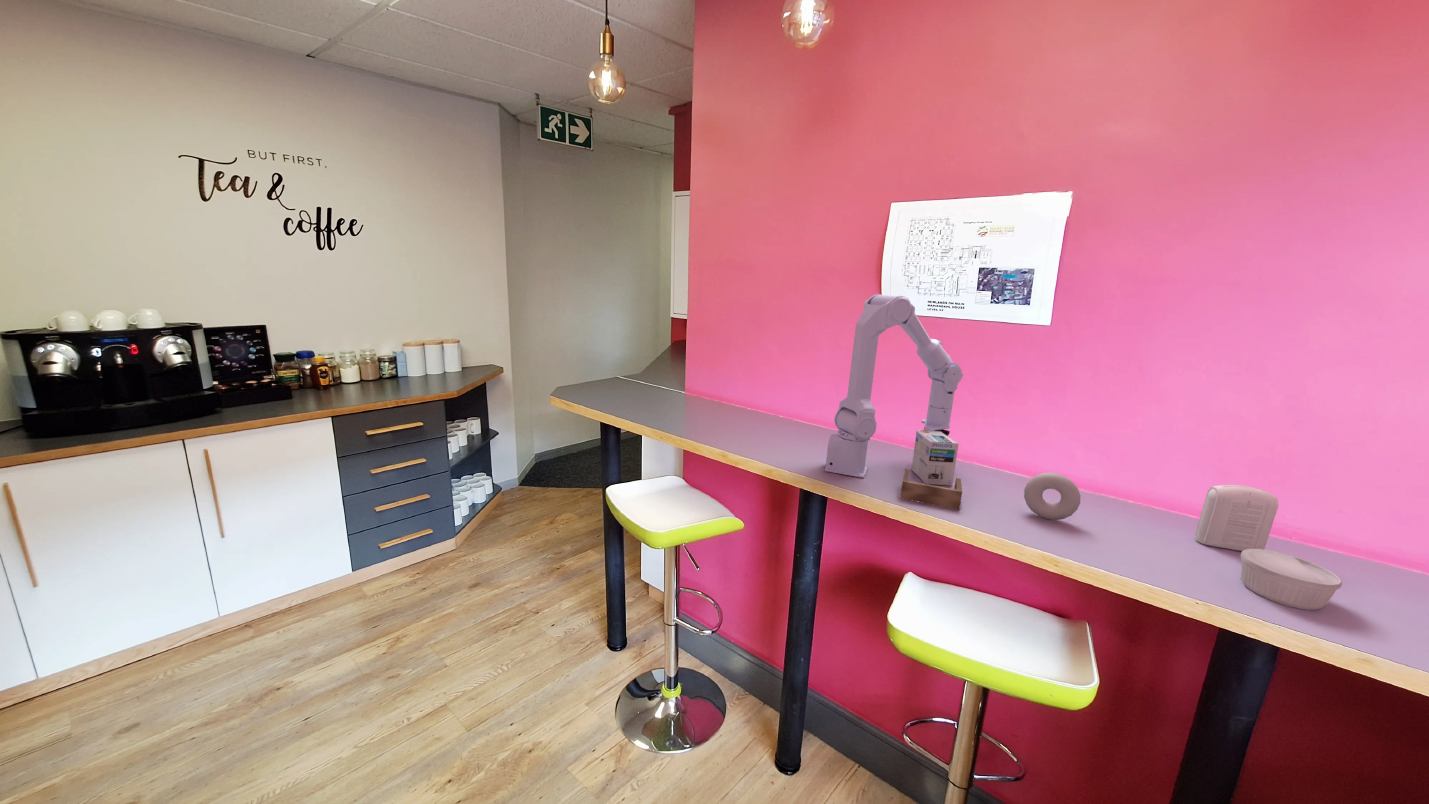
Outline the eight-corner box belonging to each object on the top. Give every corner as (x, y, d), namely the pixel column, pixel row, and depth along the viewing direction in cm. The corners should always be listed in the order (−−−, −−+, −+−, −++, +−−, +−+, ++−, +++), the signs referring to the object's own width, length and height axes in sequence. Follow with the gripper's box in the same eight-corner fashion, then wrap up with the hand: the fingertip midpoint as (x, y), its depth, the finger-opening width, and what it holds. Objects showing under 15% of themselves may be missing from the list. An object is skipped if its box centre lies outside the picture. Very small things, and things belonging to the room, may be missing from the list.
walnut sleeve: (900, 498, 119) (902, 481, 118) (902, 485, 127) (905, 469, 126) (959, 509, 115) (962, 492, 114) (958, 495, 123) (960, 478, 122)
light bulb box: (953, 486, 128) (960, 443, 126) (924, 484, 128) (931, 441, 126) (936, 470, 139) (942, 430, 136) (909, 469, 139) (915, 429, 136)
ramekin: (1353, 615, 83) (1364, 584, 82) (1288, 615, 82) (1298, 584, 81) (1274, 576, 94) (1283, 548, 93) (1215, 575, 93) (1223, 547, 92)
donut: (1075, 522, 111) (1085, 477, 109) (1074, 528, 108) (1085, 481, 106) (1020, 509, 117) (1029, 465, 115) (1019, 514, 114) (1027, 469, 112)
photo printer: (1253, 546, 105) (1271, 487, 102) (1267, 557, 101) (1287, 495, 98) (1189, 536, 108) (1205, 478, 105) (1201, 546, 104) (1218, 486, 101)
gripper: (934, 400, 148) (927, 447, 151) (914, 407, 137) (907, 458, 140) (960, 404, 144) (953, 453, 147) (942, 413, 133) (935, 465, 136)
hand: (932, 456), depth 143 cm, fingers closed
